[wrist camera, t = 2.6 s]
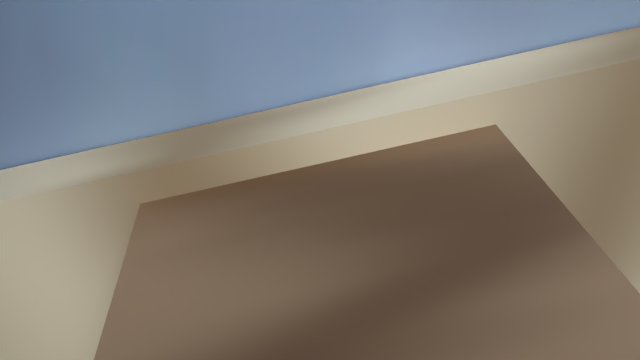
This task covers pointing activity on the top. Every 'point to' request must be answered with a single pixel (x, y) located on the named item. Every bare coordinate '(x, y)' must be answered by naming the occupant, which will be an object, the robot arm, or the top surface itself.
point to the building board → (310, 149)
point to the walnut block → (373, 266)
